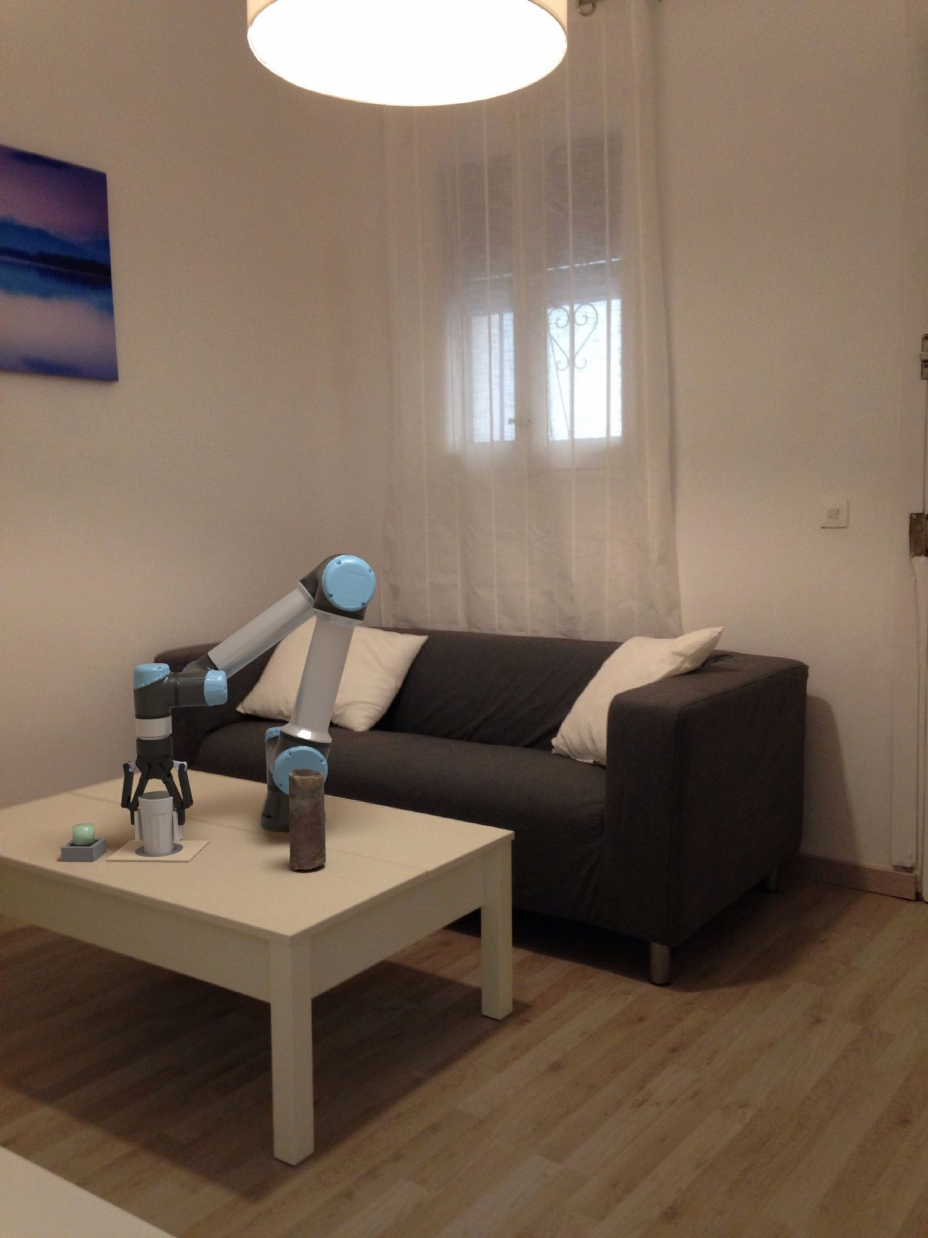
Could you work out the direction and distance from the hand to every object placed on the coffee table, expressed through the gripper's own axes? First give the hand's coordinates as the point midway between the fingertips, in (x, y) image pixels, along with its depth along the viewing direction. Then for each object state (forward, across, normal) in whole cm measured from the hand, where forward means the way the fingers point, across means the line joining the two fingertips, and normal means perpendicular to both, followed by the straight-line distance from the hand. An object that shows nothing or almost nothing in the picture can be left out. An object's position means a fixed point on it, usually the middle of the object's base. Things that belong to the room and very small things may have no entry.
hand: (158, 839), depth 242 cm
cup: (+2, 0, 0) cm, 2 cm away
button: (0, +15, +4) cm, 16 cm away
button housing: (+3, +15, +4) cm, 16 cm away
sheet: (+3, 0, 0) cm, 3 cm away
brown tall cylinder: (+3, -35, +9) cm, 36 cm away
